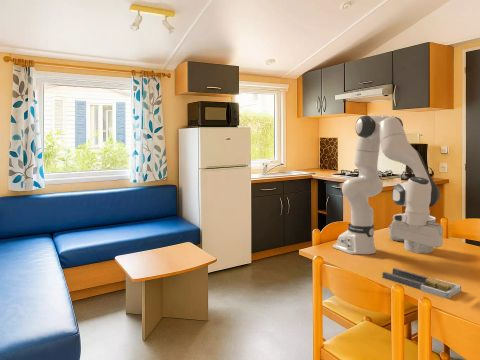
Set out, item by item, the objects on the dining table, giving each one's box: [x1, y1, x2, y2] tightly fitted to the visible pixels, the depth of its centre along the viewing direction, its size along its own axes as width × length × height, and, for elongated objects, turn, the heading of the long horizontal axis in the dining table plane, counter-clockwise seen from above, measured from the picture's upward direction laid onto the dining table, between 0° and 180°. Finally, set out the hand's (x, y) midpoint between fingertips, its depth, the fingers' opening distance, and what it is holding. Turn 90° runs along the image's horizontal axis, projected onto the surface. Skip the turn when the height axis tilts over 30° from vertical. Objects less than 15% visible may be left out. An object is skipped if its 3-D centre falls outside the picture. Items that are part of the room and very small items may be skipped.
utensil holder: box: [403, 215, 437, 254], centre depth 202 cm, size 15×15×18 cm
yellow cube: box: [436, 280, 454, 292], centre depth 146 cm, size 4×4×4 cm
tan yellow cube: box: [425, 277, 441, 289], centre depth 150 cm, size 4×4×4 cm
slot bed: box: [381, 267, 429, 291], centre depth 158 cm, size 17×10×3 cm, turn 37°
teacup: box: [388, 224, 404, 242], centre depth 223 cm, size 14×11×8 cm
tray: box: [420, 278, 462, 300], centre depth 148 cm, size 10×11×3 cm
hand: (414, 252), depth 155 cm, fingers closed
